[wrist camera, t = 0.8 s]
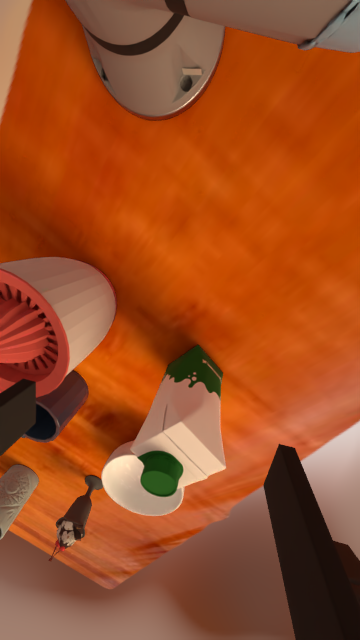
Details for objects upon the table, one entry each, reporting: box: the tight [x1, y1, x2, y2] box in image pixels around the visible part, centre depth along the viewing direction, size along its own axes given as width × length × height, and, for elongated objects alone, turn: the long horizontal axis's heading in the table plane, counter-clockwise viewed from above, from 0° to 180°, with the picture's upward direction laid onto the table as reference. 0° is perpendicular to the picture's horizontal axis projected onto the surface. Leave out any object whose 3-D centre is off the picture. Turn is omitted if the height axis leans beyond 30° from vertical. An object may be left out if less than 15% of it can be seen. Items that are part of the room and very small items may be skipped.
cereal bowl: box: [102, 440, 184, 516], centre depth 49 cm, size 17×17×7 cm
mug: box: [21, 370, 89, 442], centre depth 45 cm, size 13×10×10 cm
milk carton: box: [130, 345, 226, 497], centre depth 33 cm, size 9×9×20 cm
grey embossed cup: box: [0, 465, 39, 539], centre depth 58 cm, size 10×10×12 cm
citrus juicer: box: [0, 257, 117, 397], centre depth 31 cm, size 16×17×20 cm
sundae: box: [49, 475, 103, 561], centre depth 52 cm, size 7×7×15 cm
